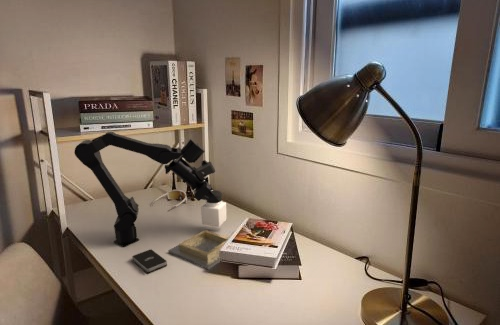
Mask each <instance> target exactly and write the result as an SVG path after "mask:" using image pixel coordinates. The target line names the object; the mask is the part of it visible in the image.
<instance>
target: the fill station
mask: <svg viewBox="0 0 500 325" xmlns="http://www.w3.org/2000/svg"><path fill="white" fill-rule="evenodd" d="M228 238H229V237H228V236H224V235H221V234H219V233H215V232H213V231H211V230H210V231H209V230H207V229H205V230H203V231H201V232H199V233H196V234H195V235H193V236H192V237H189V238H188V239H186V240H184V241H182V242H180V243H179V244H178V245H176V246H174V247H172V248H170V249H168V254H171V255H172V256H176V257H177V258H180V259H182V260H183V261H187V262H190V263H192V264H194V265H196V266H199V267H202V268H204V269H206V270H210V269H212V268H213V267H215V266H216V265H218V264H219V263H220V261H219V250H220V248H221V247H222V246H223V245H224V243H225V242H226V241H227V240H228Z"/></svg>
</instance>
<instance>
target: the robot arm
mask: <svg viewBox="0 0 500 325" xmlns="http://www.w3.org/2000/svg"><path fill="white" fill-rule="evenodd" d="M109 146H112V147H116V148H119V149H122V150H126V151H130V152H134V153H136V154H140V155H144V156H146V157H148V158H150V159H151V160H153V161H155V162H156V163H159V164H161V165H164V171H165V175H167V174H169V173H170V172H172V173H173V174H175V175H176V176H177V177H178V178H179V179H181V180H182V183H183V184H187V185H188V186H189V187H190V189H191V190H192V191H193V196H194V199H195V200H197V201H198V202H200V201H201V200H203V201H205V200H207V201H211V202H215V203H218V202H219V200H218V198H217V197H216V196H215V195H214V194H213V192H212V190H214V188H213V187H212V186H211V184H210V183H209V176H210V175H211V174H214V173H216V169H215V167H214V165H213V163H212V161H207V160H205V159H204V160H201V162H200V163H201V164H200V165H199V167H195V166H191V164H192V163H196V162H197V161H198V160H199V158H200V157H201V156H202V155H203V154H204V153H205V152H206V150H205V149H204V148H203V147H202V146H201V145H200V144H199V143H197V142H196V141H194V140H193V139H192V138H190V139H188V140H187V142H186V143H185V144H184V146H182V148H178V147H171V146H170V145H168V144H163V143H152V142H146V141H142V140H138V139H135V138H133V137H129V136H125V135H121V134H119V133H115V132H114V131H108V132H106V133H104V134H102V135H100V136H98V137H95V138H94V139H85V140H82V141H81V142H80V143H78V144H76V146H75V148H74V156H75V157H76V158H77V159H78V160H79V161H80V162H81V163H82V165H84V166H86V167H87V168H88V169H90V170H91V171H92V173H93V174H94V176H95V177H96V179H97V180H98V182H99V184H100V185H101V186H102V188H103V189H104V191H105V193H106V194H107V195H108V196H109V198H110V199H111V201H112V203H113V204H114V207H115V211H116V214H117V217H116V218H115V221H114V224H113V229H114V235H115V236H114V237H115V240H113V243H114V244H116V245H117V246H121V247H124V248H125V247H128V246H130V245H131V244H134V243H137V242H138V241H140V238H139V237H138V233H137V232H138V231H137V226H136V221H137V219H138V215H139V204H138V203H137V202H136V201H135V198H134V197H133V196H131V197H130V198H129V197H128V196H126V195H125V193H124V192H123V191H122V189H121V188H120V186H119V185H118V183H117V181H116V179H115V178H114V177H113V175H112V174H111V173H110V171H109V169H108V168H107V166H106V165H105V163H104V161H103V158H102V155H101V152H100V151H102V150H104V149H105V148H106V147H109Z"/></svg>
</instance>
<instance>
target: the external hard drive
mask: <svg viewBox="0 0 500 325" xmlns="http://www.w3.org/2000/svg"><path fill="white" fill-rule="evenodd" d="M131 260H132V262H133V263H134V264H135V265H136V266H138V267H139V268H140V269H141V270H143V272H144V273H145V274H148V275H149V274H152V273H155V272H156V271H158V270H161V269H163V268H166V267H167V266H168V261H167V259H165V258H164V257H162V256H161V255H160V254H159V253H158V252H156V251H155V250H154V249H152V248H151V249H150V248H149V249H148V250H144V251H142V252H139V253H137V254H133V255H132V256H131Z"/></svg>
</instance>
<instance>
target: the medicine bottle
mask: <svg viewBox="0 0 500 325" xmlns="http://www.w3.org/2000/svg"><path fill="white" fill-rule="evenodd" d="M212 192H213V194H214V195H215V196H216V197H217V198H218V200H219V202H218V203H215V202H211V201H207V200H204V201H205V203H204V204H203V205H202V206H201V207H200V208H201V225H204V226H211V227H217V228H220V227H221V226H222V225H223V224H224V223H225V222H226V220H227V202H224V201H223V194H222V192H221V191H220V190H216V189H215V190H214V189H213V190H212Z"/></svg>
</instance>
